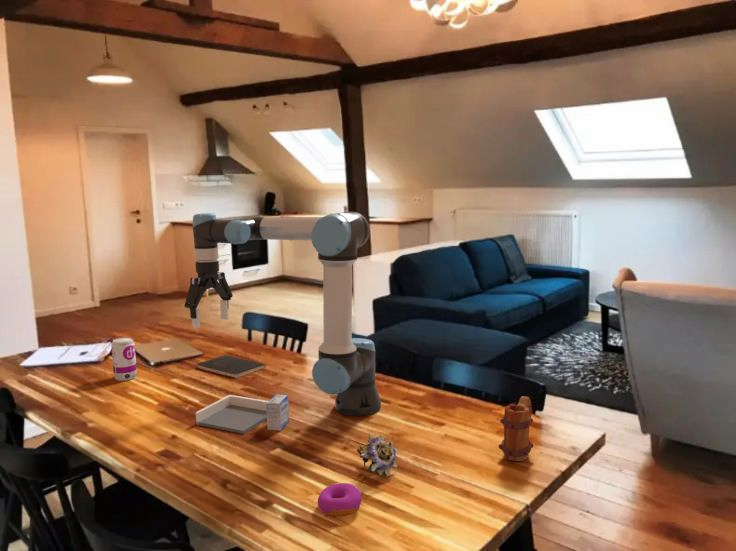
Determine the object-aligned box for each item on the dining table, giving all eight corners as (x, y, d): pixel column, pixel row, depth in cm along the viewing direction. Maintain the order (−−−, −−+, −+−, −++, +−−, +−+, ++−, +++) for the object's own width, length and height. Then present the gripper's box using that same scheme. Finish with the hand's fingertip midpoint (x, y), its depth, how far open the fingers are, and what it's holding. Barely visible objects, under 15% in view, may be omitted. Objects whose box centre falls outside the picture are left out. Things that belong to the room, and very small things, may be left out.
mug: (524, 468, 165) (526, 413, 163) (495, 461, 170) (495, 407, 167) (541, 447, 178) (543, 395, 175) (513, 441, 182) (514, 390, 179)
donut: (323, 495, 153) (322, 478, 153) (364, 498, 152) (364, 480, 151) (314, 518, 143) (313, 500, 143) (358, 521, 142) (358, 502, 141)
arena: (275, 414, 205) (275, 402, 204) (244, 433, 190) (243, 421, 189) (230, 406, 213) (229, 394, 212) (196, 424, 198) (195, 412, 197)
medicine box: (281, 431, 192) (280, 403, 190) (267, 430, 192) (265, 403, 191) (289, 421, 199) (288, 394, 198) (276, 420, 200) (274, 394, 199)
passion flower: (386, 495, 164) (378, 472, 155) (352, 477, 169) (342, 454, 161) (408, 459, 169) (401, 435, 161) (374, 443, 175) (366, 419, 167)
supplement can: (141, 376, 245) (138, 338, 243) (123, 382, 239) (120, 344, 236) (128, 373, 250) (125, 336, 247) (109, 379, 243) (106, 341, 240)
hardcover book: (235, 379, 241) (235, 373, 241) (196, 369, 255) (196, 363, 255) (266, 368, 254) (265, 363, 254) (227, 359, 268) (227, 354, 267)
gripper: (224, 255, 222) (227, 314, 226) (170, 265, 201) (174, 330, 204) (240, 256, 219) (244, 316, 222) (187, 266, 197) (192, 333, 201)
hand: (210, 323), depth 213 cm, fingers open, 13 cm apart
